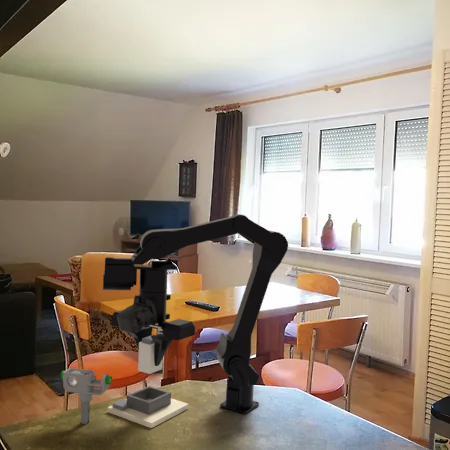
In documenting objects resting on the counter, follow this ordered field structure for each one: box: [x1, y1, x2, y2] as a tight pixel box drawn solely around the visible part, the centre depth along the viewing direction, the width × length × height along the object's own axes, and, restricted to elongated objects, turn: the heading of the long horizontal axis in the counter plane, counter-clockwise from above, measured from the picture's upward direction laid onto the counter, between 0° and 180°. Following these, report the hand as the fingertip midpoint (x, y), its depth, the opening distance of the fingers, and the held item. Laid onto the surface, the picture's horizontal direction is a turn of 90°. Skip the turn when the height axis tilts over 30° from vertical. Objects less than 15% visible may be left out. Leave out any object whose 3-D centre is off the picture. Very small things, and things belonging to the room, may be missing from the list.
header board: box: [107, 385, 190, 429], centre depth 107 cm, size 12×12×4 cm
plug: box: [137, 335, 164, 375], centre depth 106 cm, size 4×3×7 cm
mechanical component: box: [60, 367, 113, 425], centre depth 100 cm, size 3×10×10 cm, turn 78°
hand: (150, 363), depth 106 cm, fingers closed on plug, 3 cm apart
